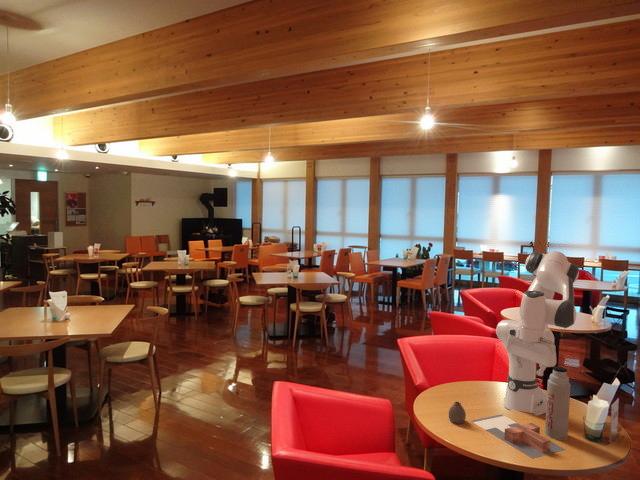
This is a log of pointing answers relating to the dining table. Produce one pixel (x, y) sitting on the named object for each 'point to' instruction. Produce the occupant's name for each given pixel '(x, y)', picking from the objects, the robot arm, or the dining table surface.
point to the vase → (457, 413)
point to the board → (497, 428)
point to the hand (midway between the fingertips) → (529, 371)
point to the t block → (528, 436)
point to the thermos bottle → (558, 404)
